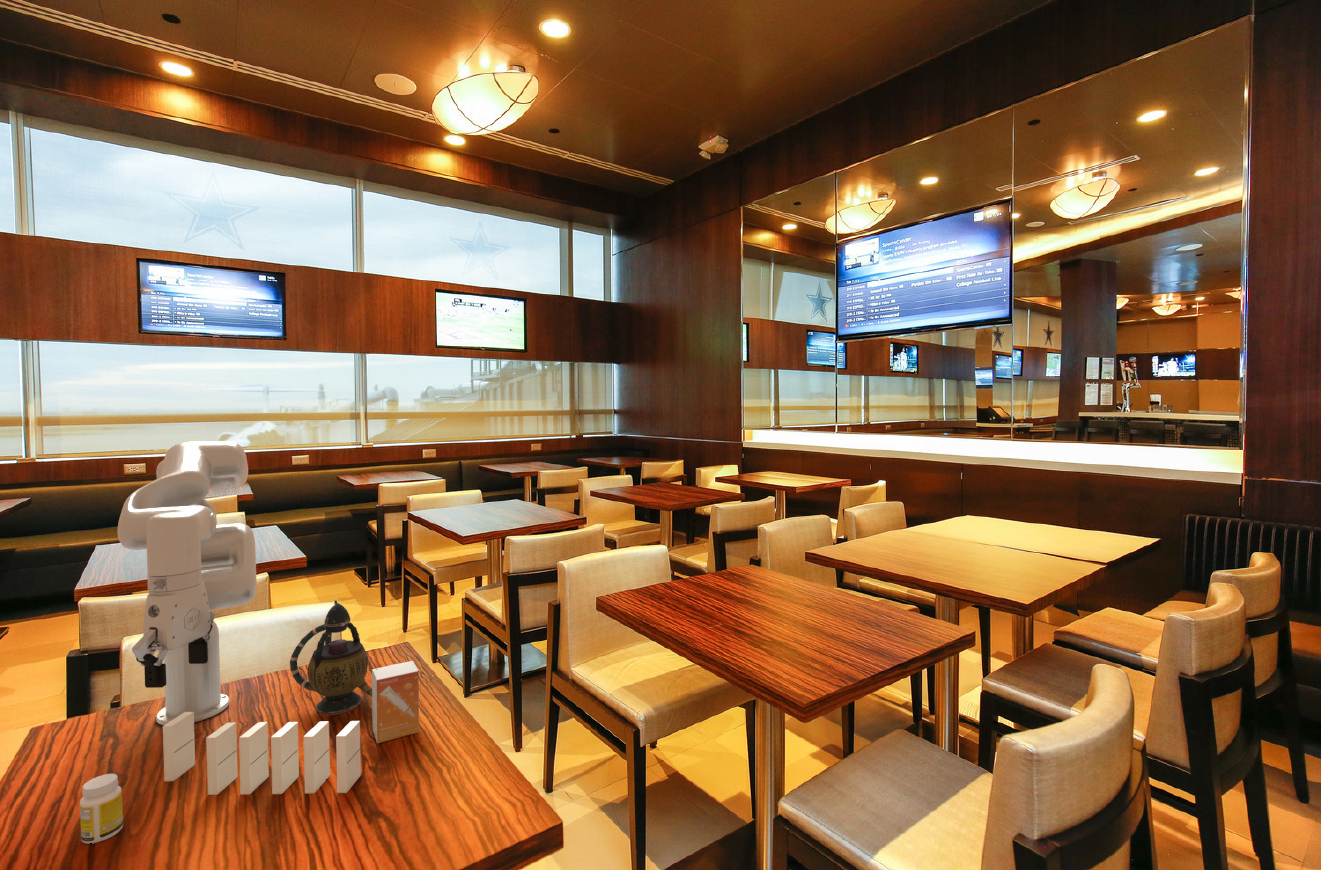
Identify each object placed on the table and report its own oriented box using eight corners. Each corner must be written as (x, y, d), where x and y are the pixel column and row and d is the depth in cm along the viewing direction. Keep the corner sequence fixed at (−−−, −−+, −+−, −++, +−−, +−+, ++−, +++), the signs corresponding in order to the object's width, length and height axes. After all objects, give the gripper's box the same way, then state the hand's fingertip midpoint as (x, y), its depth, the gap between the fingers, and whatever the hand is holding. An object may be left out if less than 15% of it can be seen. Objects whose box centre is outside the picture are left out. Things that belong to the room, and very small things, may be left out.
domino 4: (272, 794, 102) (270, 737, 101) (289, 776, 107) (288, 721, 106) (281, 793, 102) (280, 737, 101) (299, 776, 107) (297, 721, 106)
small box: (376, 744, 117) (375, 680, 117) (372, 730, 122) (371, 668, 122) (420, 732, 121) (419, 670, 121) (413, 719, 127) (412, 659, 126)
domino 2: (207, 794, 102) (206, 737, 101) (228, 777, 107) (227, 722, 106) (217, 794, 102) (215, 737, 101) (237, 776, 107) (236, 722, 106)
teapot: (333, 686, 142) (331, 591, 141) (415, 704, 133) (413, 602, 133) (285, 710, 131) (283, 606, 130) (372, 731, 122) (370, 619, 121)
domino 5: (304, 793, 102) (303, 736, 102) (320, 775, 107) (319, 721, 107) (314, 793, 102) (313, 736, 102) (330, 775, 107) (328, 721, 107)
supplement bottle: (127, 819, 95) (126, 768, 95) (117, 838, 91) (115, 785, 91) (88, 829, 93) (86, 777, 93) (75, 848, 89) (73, 794, 89)
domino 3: (240, 794, 102) (239, 737, 101) (259, 776, 107) (258, 722, 106) (250, 794, 102) (248, 737, 101) (268, 776, 107) (267, 722, 106)
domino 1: (164, 781, 105) (162, 726, 105) (186, 764, 110) (184, 711, 110) (173, 781, 105) (172, 725, 105) (195, 764, 110) (193, 711, 110)
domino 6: (337, 792, 102) (336, 736, 102) (351, 775, 107) (350, 721, 107) (346, 792, 102) (345, 735, 102) (360, 775, 107) (359, 720, 107)
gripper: (156, 595, 98) (159, 697, 99) (230, 568, 116) (232, 654, 116) (110, 596, 98) (114, 697, 99) (191, 568, 115) (193, 655, 116)
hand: (178, 674), depth 107 cm, fingers open, 9 cm apart
